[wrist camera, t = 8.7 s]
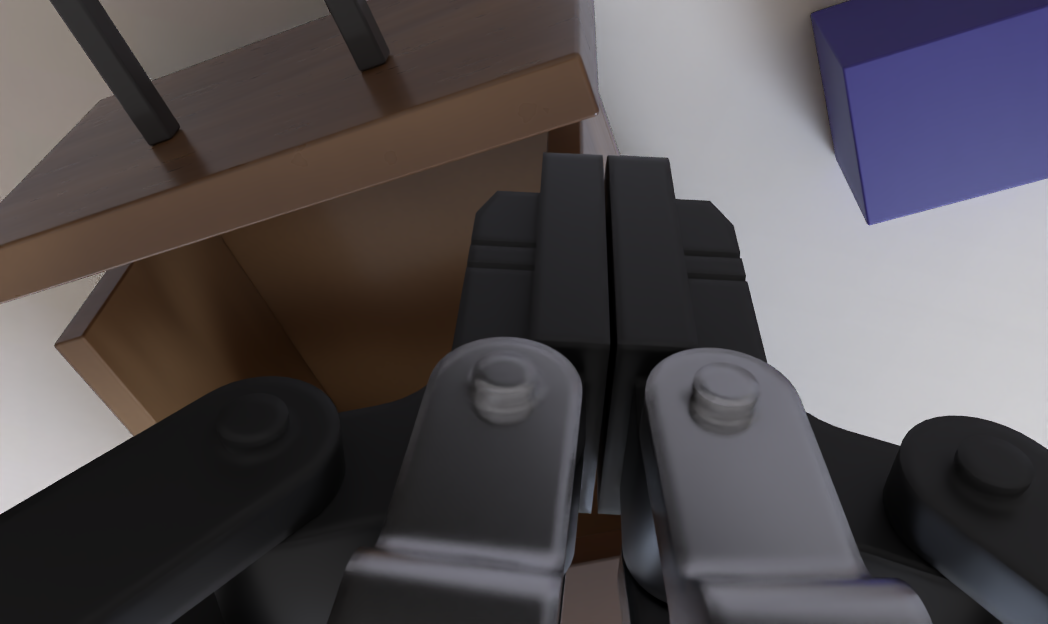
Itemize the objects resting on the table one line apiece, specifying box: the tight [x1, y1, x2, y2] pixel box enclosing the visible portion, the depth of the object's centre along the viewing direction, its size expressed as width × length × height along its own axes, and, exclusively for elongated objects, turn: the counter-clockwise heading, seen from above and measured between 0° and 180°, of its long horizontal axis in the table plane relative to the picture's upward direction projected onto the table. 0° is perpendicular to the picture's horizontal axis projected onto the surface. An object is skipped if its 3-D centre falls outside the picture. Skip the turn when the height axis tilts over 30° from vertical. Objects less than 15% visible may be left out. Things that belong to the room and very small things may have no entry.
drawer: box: [0, 0, 621, 537], centre depth 22 cm, size 20×14×8 cm, turn 20°
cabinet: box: [561, 529, 622, 624], centre depth 30 cm, size 16×15×10 cm
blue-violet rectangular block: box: [811, 0, 1048, 225], centre depth 21 cm, size 4×9×4 cm, turn 110°
